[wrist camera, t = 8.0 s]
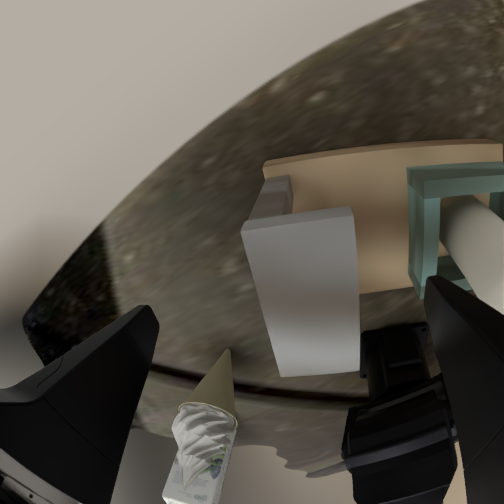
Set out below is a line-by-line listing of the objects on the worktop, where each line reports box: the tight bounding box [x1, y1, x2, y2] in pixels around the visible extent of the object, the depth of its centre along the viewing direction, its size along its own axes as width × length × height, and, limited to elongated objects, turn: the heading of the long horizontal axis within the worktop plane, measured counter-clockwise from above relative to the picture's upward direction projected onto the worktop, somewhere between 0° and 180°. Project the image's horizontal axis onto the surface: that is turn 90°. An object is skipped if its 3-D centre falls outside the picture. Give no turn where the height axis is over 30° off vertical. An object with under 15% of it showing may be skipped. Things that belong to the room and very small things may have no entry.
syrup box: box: [162, 415, 236, 504], centre depth 30 cm, size 6×6×14 cm
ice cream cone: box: [172, 349, 238, 491], centre depth 22 cm, size 5×5×15 cm
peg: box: [439, 194, 504, 315], centre depth 13 cm, size 4×4×8 cm
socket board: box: [240, 139, 504, 377], centre depth 15 cm, size 10×16×10 cm, turn 104°
